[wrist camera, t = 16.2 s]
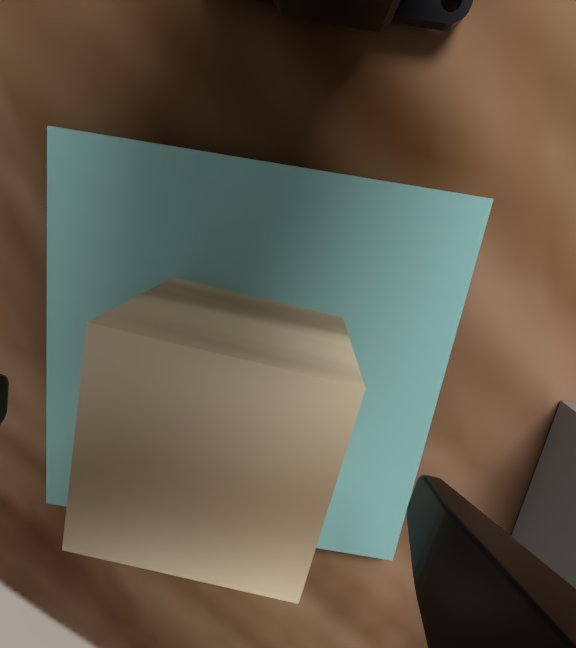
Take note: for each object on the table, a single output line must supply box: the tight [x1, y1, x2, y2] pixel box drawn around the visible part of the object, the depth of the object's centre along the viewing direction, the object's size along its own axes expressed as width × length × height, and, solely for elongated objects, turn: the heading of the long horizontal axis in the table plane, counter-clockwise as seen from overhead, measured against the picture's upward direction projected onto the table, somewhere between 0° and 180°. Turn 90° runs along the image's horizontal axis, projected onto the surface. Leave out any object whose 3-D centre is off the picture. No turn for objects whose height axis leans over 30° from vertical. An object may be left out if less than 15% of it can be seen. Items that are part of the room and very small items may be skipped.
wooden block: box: [62, 277, 366, 604], centre depth 10 cm, size 5×5×5 cm
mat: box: [46, 126, 493, 561], centre depth 13 cm, size 12×12×1 cm
